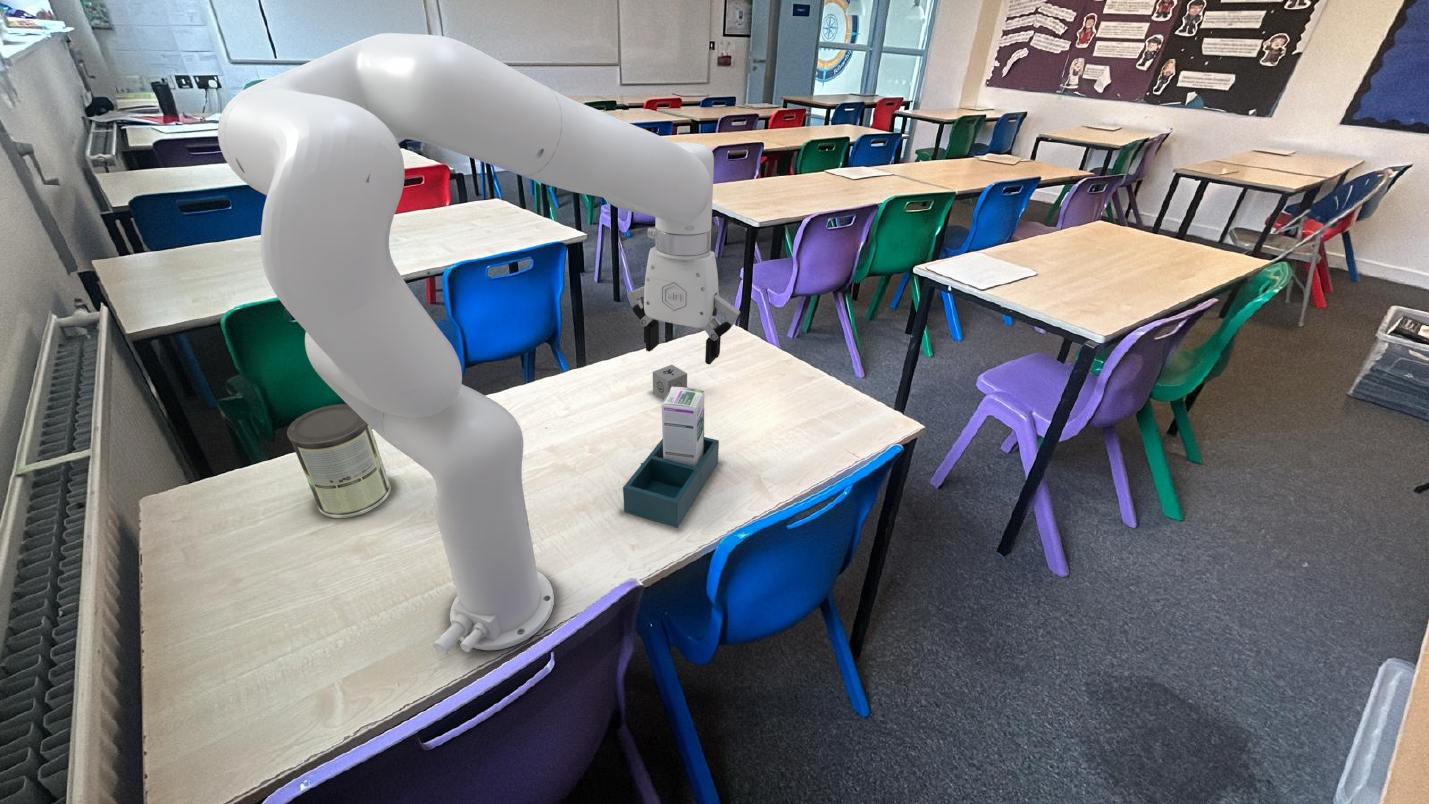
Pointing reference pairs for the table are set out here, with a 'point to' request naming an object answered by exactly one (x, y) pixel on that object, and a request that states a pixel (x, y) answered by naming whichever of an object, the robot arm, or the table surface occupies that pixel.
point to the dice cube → (668, 380)
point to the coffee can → (340, 460)
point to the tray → (668, 485)
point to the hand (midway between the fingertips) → (681, 354)
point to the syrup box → (683, 425)
